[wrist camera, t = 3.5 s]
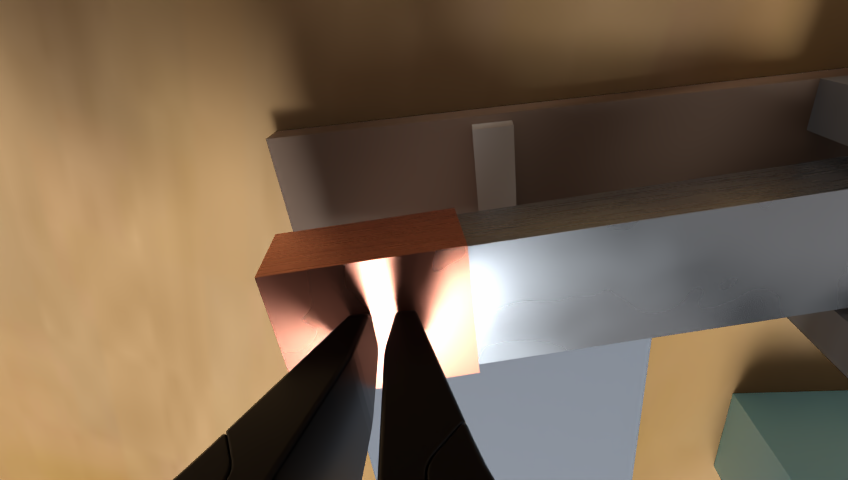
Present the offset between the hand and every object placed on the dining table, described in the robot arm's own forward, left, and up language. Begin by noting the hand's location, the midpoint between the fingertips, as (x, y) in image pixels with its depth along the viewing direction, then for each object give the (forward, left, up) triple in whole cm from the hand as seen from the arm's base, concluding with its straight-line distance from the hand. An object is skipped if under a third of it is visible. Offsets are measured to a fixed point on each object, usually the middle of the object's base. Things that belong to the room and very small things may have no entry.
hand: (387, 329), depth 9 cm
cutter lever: (-5, 0, -3) cm, 5 cm away
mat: (-2, +9, -5) cm, 11 cm away
